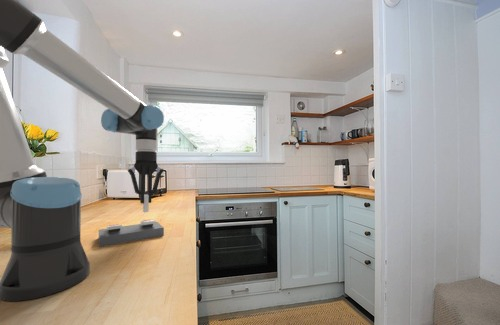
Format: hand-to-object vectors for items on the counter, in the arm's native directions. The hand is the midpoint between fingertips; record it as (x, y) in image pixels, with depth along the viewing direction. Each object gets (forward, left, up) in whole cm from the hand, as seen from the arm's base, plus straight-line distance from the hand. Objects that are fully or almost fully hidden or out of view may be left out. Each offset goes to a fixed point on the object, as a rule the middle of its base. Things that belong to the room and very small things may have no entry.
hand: (145, 211), depth 88 cm
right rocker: (-2, 0, -4) cm, 4 cm away
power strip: (-2, +5, -8) cm, 10 cm away
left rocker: (-2, +11, -4) cm, 12 cm away
